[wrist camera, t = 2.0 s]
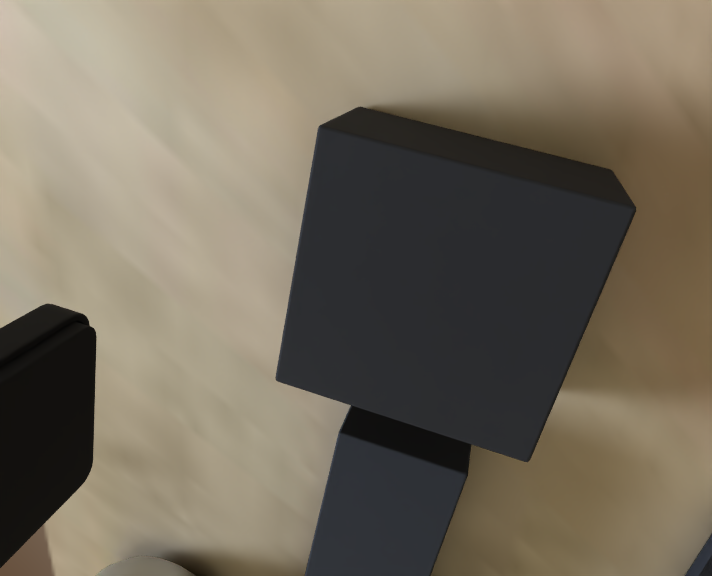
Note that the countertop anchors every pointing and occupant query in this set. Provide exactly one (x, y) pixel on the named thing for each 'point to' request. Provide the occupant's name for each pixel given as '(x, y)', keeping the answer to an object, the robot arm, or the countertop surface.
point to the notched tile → (393, 500)
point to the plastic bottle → (144, 568)
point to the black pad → (446, 276)
